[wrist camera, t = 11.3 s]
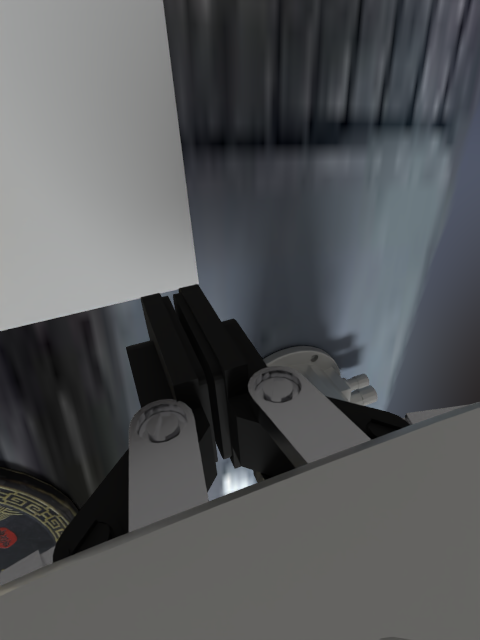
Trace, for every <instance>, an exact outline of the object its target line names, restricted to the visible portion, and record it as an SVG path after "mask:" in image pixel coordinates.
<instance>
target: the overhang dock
mask: <svg viewBox="0 0 480 640" xmlns="http://www.w3.org/2000/svg"><path fill="white" fill-rule="evenodd" d="M195 284H199V282H198V274H197V267H196V259H195V251H194V243H193V235H192V227H191V219H190V211H189V203H188V195H187V188H186V180H185V172H184V164H183V156H182V148H181V140H180V132H179V124H178V116H177V109H176V101H175V93H174V85H173V77H172V69H171V61H170V53H169V45H168V37H167V30H166V22H165V14H164V6H163V0H0V331H2V330H6V329H11V328H15V327H19V326H23V325H28V324H32V323H36V322H40V321H45V320H49V319H53V318H57V317H62V316H66V315H70V314H74V313H79V312H83V311H87V310H91V309H96V308H100V307H104V306H108V305H113V304H117V303H121V302H125V301H130V300H134V299H138V298H141V297H143V296H148V295H152V294H156V293H164V292H168V291H172V290H177V289H179V288H182V287H186V286H191V285H195Z"/></svg>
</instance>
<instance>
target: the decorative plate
mask: <svg viewBox="0 0 480 640" xmlns="http://www.w3.org/2000/svg"><path fill="white" fill-rule="evenodd" d="M78 512H79V510H78V509H77V508H76V506H75V505H74V504H73V502H72V501H71V500H70V499H69V498H68V497H67V496H66V495H64V494H63V493H62V492H60V491H59V490H57V489H56V488H55V487H53V486H52V485H51V484H49V483H46V482H44V481H42V480H40V479H37V478H35V477H33V476H31V475H28V474H26V473H23V472H19V471H15V470H11V469H7V468H3V467H0V572H1V571H3V570H5V569H6V568H8V567H10V566H12V565H13V564H15V563H17V562H18V561H20V560H22V559H23V558H25V557H27V556H29V555H30V554H32V553H34V552H35V551H37V550H39V552H40V553H41V554H42V553H44V552H46V551H47V550H49V549H51V548H52V547H54V546H56V542H57V541H58V539H59V537H60V536H61V534H62V533H63V531H64V530H65V528H66V527H67V526H68V525H69V523H70V522H71V521H72V519H73V518H74V517H75V516H76V514H77V513H78Z"/></svg>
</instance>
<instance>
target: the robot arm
mask: <svg viewBox="0 0 480 640" xmlns="http://www.w3.org/2000/svg"><path fill="white" fill-rule="evenodd" d="M173 300H174V305H175V310H174V308H173V305H172V303H171V301H170V299H169V297H168V296H165V297H161V295H160V293H156V294H152V295H148V296H143V297H141V302H142V307H143V311H144V316H145V320H146V325H147V329H148V334H149V338H150V341H147V342H143V343H139V344H135V345H132V346H128V347H126V350H127V354H128V358H129V362H130V366H131V370H132V374H133V378H134V382H135V385H136V389H137V393H138V397H139V401H140V405H141V409H140V410H139V411H138V412H137V413H136V414H135V415H134V417H133V418H132V420H131V422H130V427H129V449H128V450H127V451H126V452H125V454H124V455H123V456H122V457H121V459H120V460H119V461H118V463H117V464H116V465H115V466H114V468H113V469H112V470H111V471H110V473H109V474H108V475H107V476H106V478H105V479H104V480H103V482H102V483H101V484H100V485H99V487H98V488H97V489H96V490H95V492H94V493H93V494H92V495H91V497H90V498H89V499H88V501H87V502H86V503H85V504H84V506H83V507H82V508H81V509H80V511H79V512H78V513H77V514H76V516H75V517H74V518H73V519H72V521H71V522H70V523H69V525H68V526H67V527H66V528H65V530H64V531H63V533H62V534H61V536H60V537H59V539H58V541H57V542H56V546H54V547H52V548H51V549H49V550H47V551H46V552H44V553H42V554H41V553H40V552H39V550H37V551H35V552H34V553H32V554H30V555H29V556H27V557H25V558H23V559H22V560H20V561H18V562H17V563H15V564H13V565H12V566H10V567H8V568H6V569H5V570H3V571H1V572H0V640H480V402H478V403H475V404H471V405H464V406H456V407H449V408H442V409H434V410H427V411H420V412H413V413H406V415H405V418H401V417H399V416H397V415H395V414H392V413H389V412H386V411H382V410H378V409H374V408H370V407H366V406H365V405H368V404H371V403H373V402H376V401H377V393H376V391H375V389H374V388H373V387H372V386H371V385H369V379H368V377H367V376H366V375H365V374H360V375H357V376H354V377H352V378H350V379H347V380H346V379H345V378H341V377H340V370H339V367H338V365H337V364H336V362H335V361H334V360H333V358H332V357H331V356H330V355H329V354H328V353H326V352H325V351H323V350H321V349H319V348H315V347H312V346H297V347H290V348H287V349H284V350H280V351H278V352H276V353H274V354H272V355H270V356H268V357H266V358H265V359H262V358H261V356H260V355H259V353H258V352H257V350H256V349H255V347H254V346H253V344H252V343H251V342H250V340H249V339H248V337H247V336H246V334H245V333H244V331H243V330H242V328H241V327H240V325H239V324H238V323H237V321H236V320H235V319H230V320H227V321H223V322H221V321H220V319H219V317H218V316H217V314H216V313H215V311H214V309H213V308H212V306H211V305H210V303H209V301H208V300H207V298H206V297H205V295H204V293H203V292H202V290H201V289H200V287H199V285H198V284H195V285H191V286H186V287H182V288H179V293H178V294H174V295H173ZM175 311H176V312H175ZM355 389H356V390H355ZM353 390H354V391H353ZM351 391H353V392H351ZM215 441H216V443H215ZM216 444H217V446H218V449H219V451H220V453H221V456H222V458H223V459H226V458H229V457H230V459H231V461H232V463H233V466H234V468H238V467H241V466H243V467H246V468H249V469H252V470H253V471H254V476H255V478H256V480H257V482H258V483H256V484H254V485H251V486H248V487H246V488H243V489H240V490H238V491H235V492H233V493H230V494H227V495H225V496H222V497H219V498H217V499H214V500H212V501H209V500H208V494H207V492H208V490H209V489H210V487H211V485H212V483H213V481H214V479H215V478H216V476H217V470H216V463H215V462H218V458H217V450H216Z"/></svg>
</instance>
